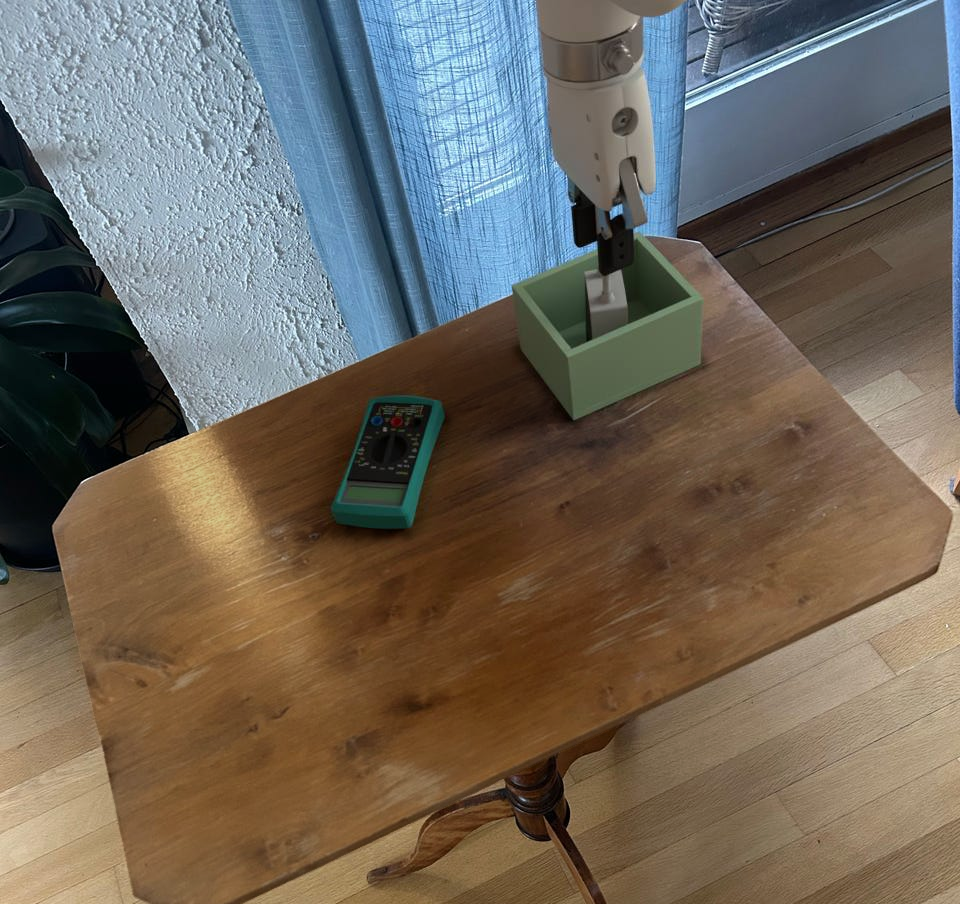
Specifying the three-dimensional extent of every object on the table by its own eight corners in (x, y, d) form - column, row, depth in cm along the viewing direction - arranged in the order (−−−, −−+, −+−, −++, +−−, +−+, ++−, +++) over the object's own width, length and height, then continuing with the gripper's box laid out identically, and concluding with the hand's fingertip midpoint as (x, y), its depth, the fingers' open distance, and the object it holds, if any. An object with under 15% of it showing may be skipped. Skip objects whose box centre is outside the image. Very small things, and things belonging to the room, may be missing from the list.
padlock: (634, 360, 96) (629, 219, 83) (590, 366, 96) (578, 227, 84) (626, 312, 100) (620, 171, 87) (583, 319, 100) (571, 179, 88)
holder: (700, 364, 98) (703, 298, 91) (573, 421, 96) (567, 357, 90) (640, 297, 104) (639, 230, 97) (520, 349, 102) (511, 285, 96)
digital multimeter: (448, 413, 99) (442, 391, 97) (412, 534, 92) (405, 513, 89) (376, 410, 101) (369, 388, 98) (335, 528, 93) (326, 508, 91)
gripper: (696, 72, 71) (690, 290, 86) (584, -20, 80) (597, 192, 95) (599, 111, 70) (611, 324, 85) (497, 14, 79) (524, 222, 94)
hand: (603, 252), depth 90 cm, fingers closed on padlock, 3 cm apart
